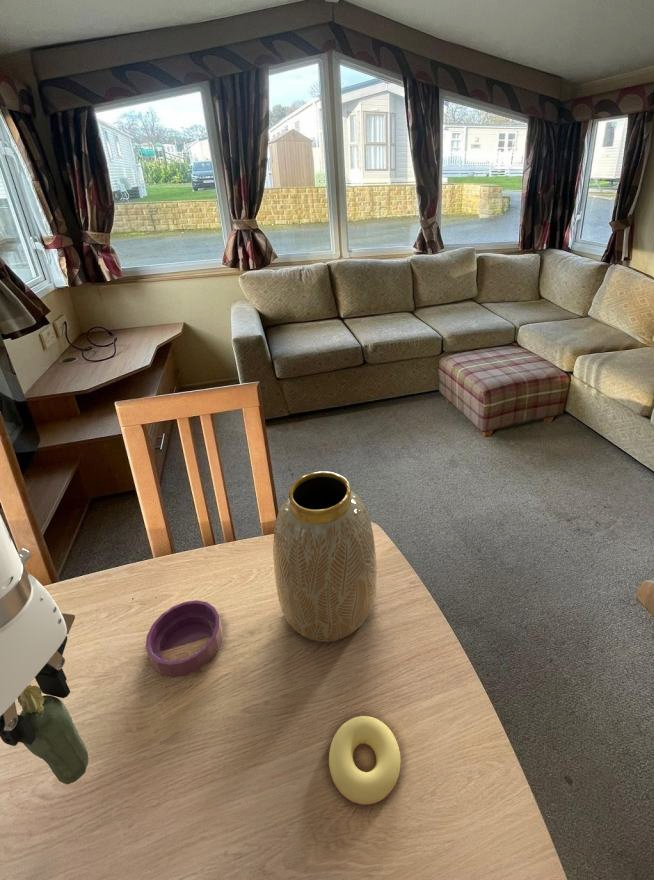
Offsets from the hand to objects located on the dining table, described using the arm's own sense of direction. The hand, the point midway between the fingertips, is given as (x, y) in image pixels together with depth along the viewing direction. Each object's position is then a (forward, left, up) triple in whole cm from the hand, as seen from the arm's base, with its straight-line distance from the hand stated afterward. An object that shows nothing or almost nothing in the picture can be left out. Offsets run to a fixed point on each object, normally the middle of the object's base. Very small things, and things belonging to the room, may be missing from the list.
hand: (39, 714), depth 53 cm
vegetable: (0, 0, -15) cm, 15 cm away
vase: (+35, +18, -20) cm, 45 cm away
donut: (+34, -7, -20) cm, 41 cm away
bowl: (+11, +18, -20) cm, 30 cm away
